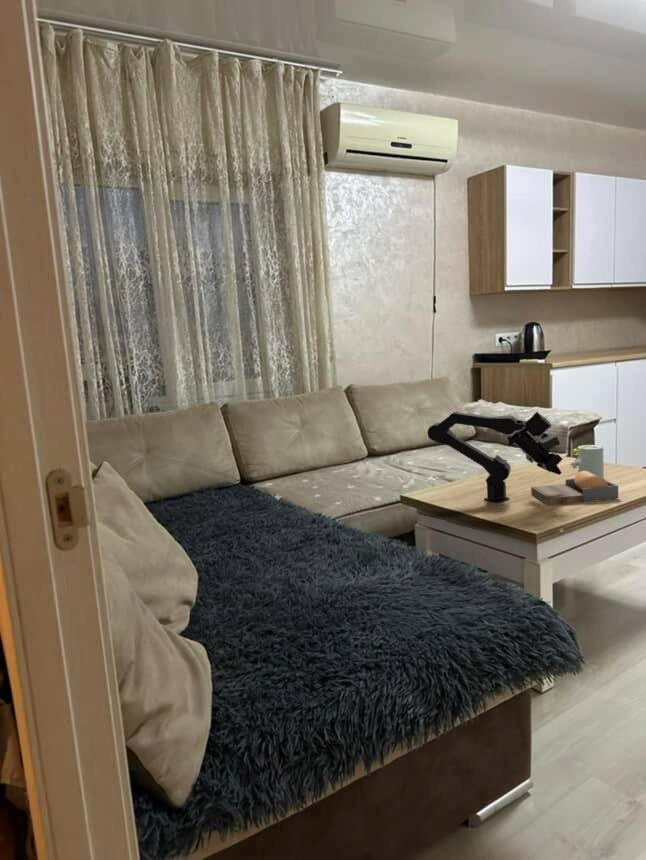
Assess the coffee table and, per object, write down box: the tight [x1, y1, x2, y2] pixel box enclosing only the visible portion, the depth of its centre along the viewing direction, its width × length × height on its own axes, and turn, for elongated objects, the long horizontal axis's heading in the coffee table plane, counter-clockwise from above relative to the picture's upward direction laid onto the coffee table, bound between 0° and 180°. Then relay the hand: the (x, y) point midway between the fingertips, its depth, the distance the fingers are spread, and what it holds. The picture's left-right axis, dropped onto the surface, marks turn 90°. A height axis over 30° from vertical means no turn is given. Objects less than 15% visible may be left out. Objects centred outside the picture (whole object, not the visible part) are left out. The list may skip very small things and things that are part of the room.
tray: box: [564, 478, 619, 503], centre depth 214 cm, size 12×15×4 cm
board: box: [530, 483, 585, 506], centre depth 214 cm, size 12×16×2 cm
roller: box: [573, 471, 608, 491], centre depth 214 cm, size 11×7×7 cm, turn 1°
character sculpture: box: [570, 444, 605, 479], centre depth 233 cm, size 20×12×13 cm, turn 137°
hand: (560, 473), depth 213 cm, fingers closed
